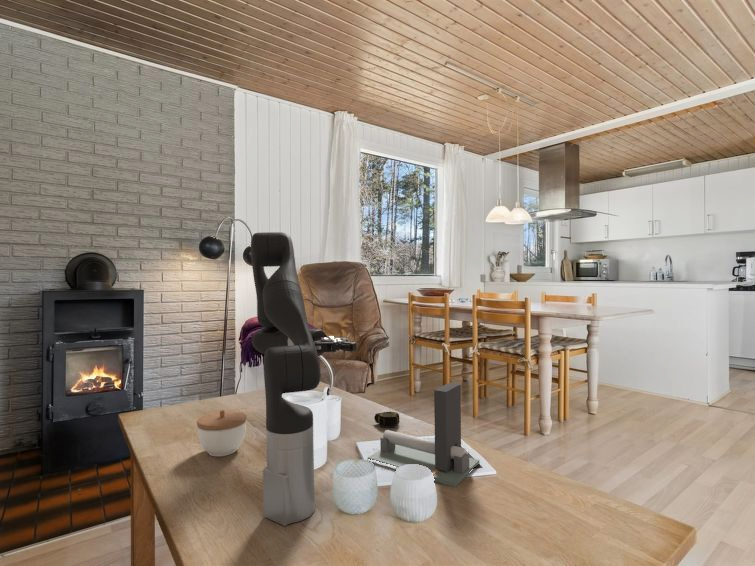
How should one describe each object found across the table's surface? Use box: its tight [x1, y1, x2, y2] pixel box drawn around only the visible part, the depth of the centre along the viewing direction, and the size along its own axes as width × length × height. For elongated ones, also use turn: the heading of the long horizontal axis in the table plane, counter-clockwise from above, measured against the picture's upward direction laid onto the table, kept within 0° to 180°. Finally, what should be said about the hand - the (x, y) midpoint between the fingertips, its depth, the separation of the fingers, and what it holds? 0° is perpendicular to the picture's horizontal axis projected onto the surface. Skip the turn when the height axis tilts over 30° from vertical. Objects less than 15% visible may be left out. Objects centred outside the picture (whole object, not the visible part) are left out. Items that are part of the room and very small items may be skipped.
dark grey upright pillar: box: [433, 382, 462, 472], centre depth 105 cm, size 8×3×19 cm, turn 145°
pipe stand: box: [367, 429, 480, 488], centre depth 109 cm, size 14×24×6 cm, turn 55°
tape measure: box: [373, 411, 400, 428], centre depth 136 cm, size 7×7×4 cm
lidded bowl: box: [196, 409, 248, 458], centre depth 118 cm, size 13×13×11 cm
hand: (354, 347), depth 115 cm, fingers closed
